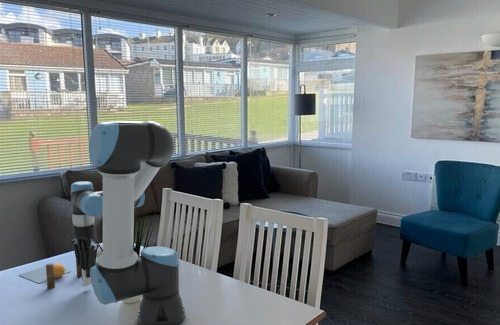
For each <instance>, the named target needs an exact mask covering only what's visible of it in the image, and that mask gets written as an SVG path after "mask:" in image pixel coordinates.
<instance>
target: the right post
mask: <svg viewBox="0 0 500 325" xmlns="http://www.w3.org/2000/svg"><path fill="white" fill-rule="evenodd" d="M75 265H76V266H75V267H76V277H77V278H82V270H81V268H80V266H78V265H77V261H76V260H75Z"/></svg>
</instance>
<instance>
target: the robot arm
mask: <svg viewBox="0 0 500 325" xmlns="http://www.w3.org/2000/svg"><path fill="white" fill-rule="evenodd" d="M89 137H90V138H89V143H88V153H89V160H90V163H91V164H92V165H93V166H94V167H96V172H98V173H99V174H100V175H101V176H102V190H100V191H99V190H98V191H95V190H94V183H93V182H92V181H76V182H73V183H72V184H71V185H70V192H69V193H70V196H71V197H70V198H71V199H70V200H71V216H72V217H71V218H72V224H73V225H72V234H73V236H74V237H75V238H74V239H72V240H71V245H72V246H73V251H74V252H73V253H74V256H75V262H76V261H77V265H78V266H80V268H81V270H82V277H81V279H82V287H87V286H90V285H91V286H92V288H93V293H94V294H95V297H96V299H97V300H98V302H99V303H100V304H102V305H110V304H113V303H114V304H117V303H118V302H121V301H124V300H128V299H131V298H135V297H139V296H142V297H141V301H140V303H139V307H138V308H139V309H138V310H137V315H136V316H137V324H138V325H180V324H181V323H182V322H183V321H184V319H185V318H186V310H185V306H184V304H183V301H182V297H181V295H180V277H179V275H180V274H179V273H180V270H179V268H180V262H179V255H178V252H177V251H176V250H174V249H172V248H170V247H165V246H157V245H156V246H148V247H147V246H146V247H144V248H142V249H141V251H140V252H139V255H138V253H136V252H135V250H134V231H135V230H134V229H135V228H134V227H135V226H134V225H135V224H134V223H135V222H134V221H135V209H136V208H139V207H142V206H143V205H144V204H145V200H146V198H145V197H146V196H145V190H146V189H147V188H148V186H149V185H150V183H151V182H152V181H153V179H154V177H155V176H156V174H157V173H158V172H159V170H160V169H161V168H163V167H165V166H166V165H168V163H169V162H170V160H171V159H172V158H173V156H174V155H173V154H174V150H175V142H174V139H173V136H172V134H171V133H170V131H169V130H168V129H167V128H166V126H164V125H163V124H161V123H158V122H156V121H153V120H144V121H143V120H139V121H138V120H137V121H130V120H129V121H127V120H126V121H124V120H122V121H120V120H118V121H116V120H115V121H114V120H112V121H104V122H99V123H97V124H96V125H94V127H93V129H92V131H91V133H90V135H89ZM101 215H102V244H103V253H101V254H100V255H99V256H98V258H97V257H96V256H97V249H98V247H99V245H100V244H99V243H95V238H94V234H95V233H96V223H95V218H97V217H99V216H101Z"/></svg>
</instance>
